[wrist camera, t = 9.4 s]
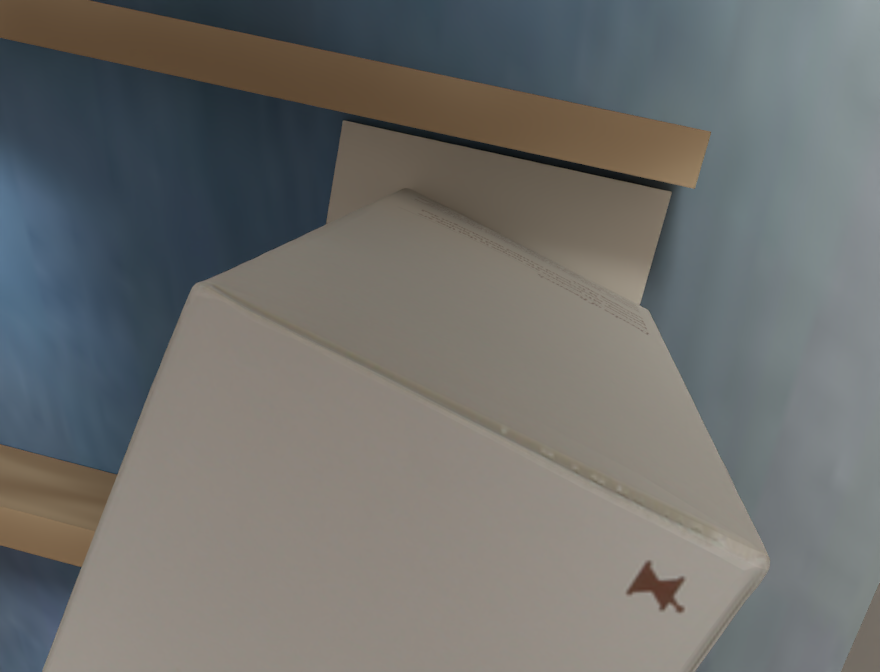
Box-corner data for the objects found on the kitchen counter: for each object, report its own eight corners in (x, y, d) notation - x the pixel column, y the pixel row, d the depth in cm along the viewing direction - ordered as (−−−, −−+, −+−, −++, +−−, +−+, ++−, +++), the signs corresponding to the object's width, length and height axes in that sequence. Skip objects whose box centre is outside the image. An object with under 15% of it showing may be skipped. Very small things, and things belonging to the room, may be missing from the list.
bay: (-201, -58, 21) (-318, -86, 19) (688, 131, 20) (711, 132, 17) (-191, 429, 25) (-286, 467, 23) (547, 623, 24) (547, 692, 21)
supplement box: (402, 177, 21) (189, 251, 9) (657, 310, 21) (807, 573, 8) (291, 412, 23) (-6, 740, 11) (522, 532, 23) (488, 998, 11)
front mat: (345, 120, 21) (342, 120, 20) (670, 191, 20) (671, 191, 20) (280, 507, 24) (278, 510, 24) (560, 580, 23) (560, 583, 23)
